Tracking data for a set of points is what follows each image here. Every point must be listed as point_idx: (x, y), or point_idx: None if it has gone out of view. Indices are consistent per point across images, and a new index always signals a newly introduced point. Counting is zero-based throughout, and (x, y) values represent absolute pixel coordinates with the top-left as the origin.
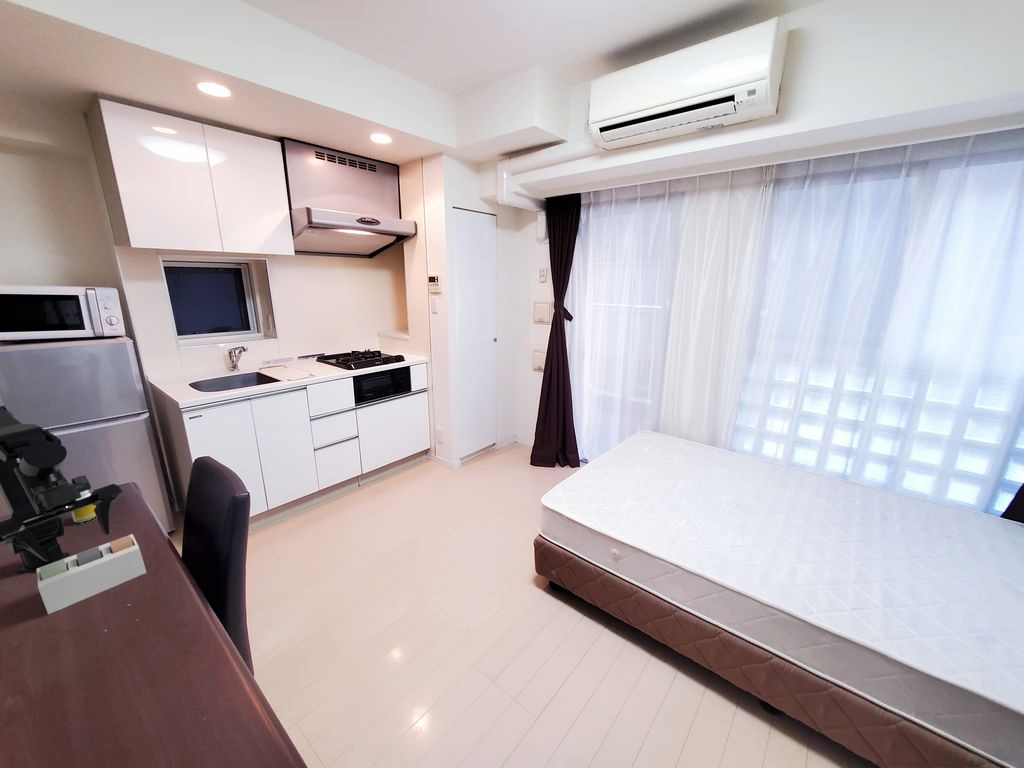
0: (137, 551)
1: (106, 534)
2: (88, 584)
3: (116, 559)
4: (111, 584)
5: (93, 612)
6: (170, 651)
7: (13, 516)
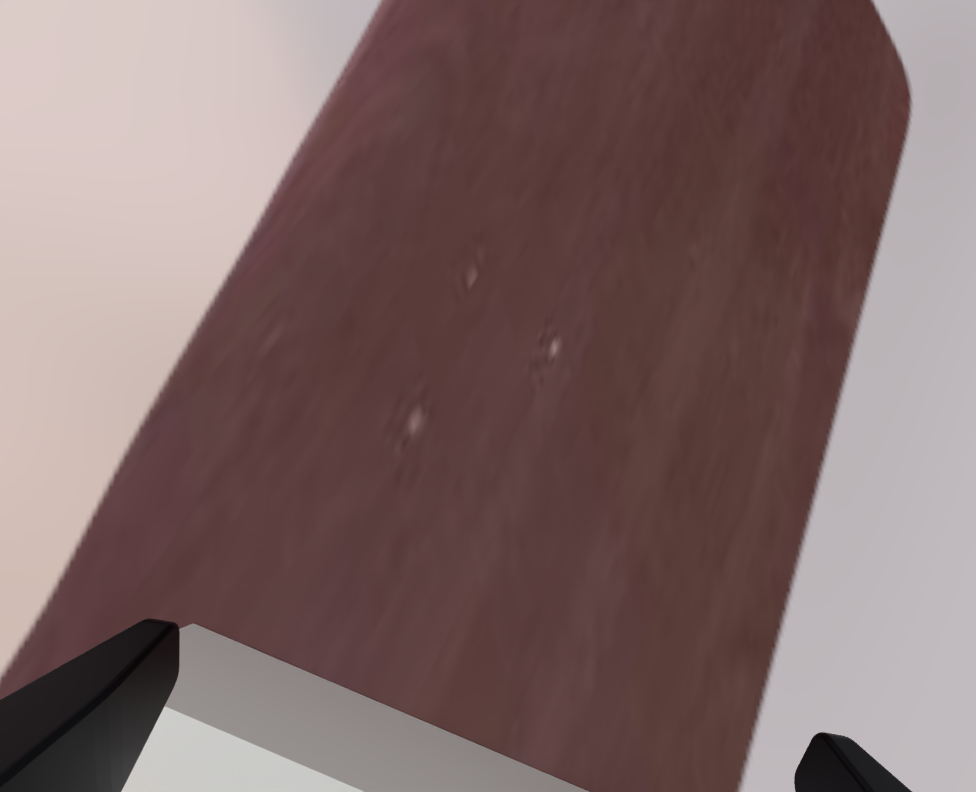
0: None
1: (175, 640)
2: (420, 753)
3: (233, 725)
4: (339, 691)
5: (504, 546)
6: (540, 3)
7: None
